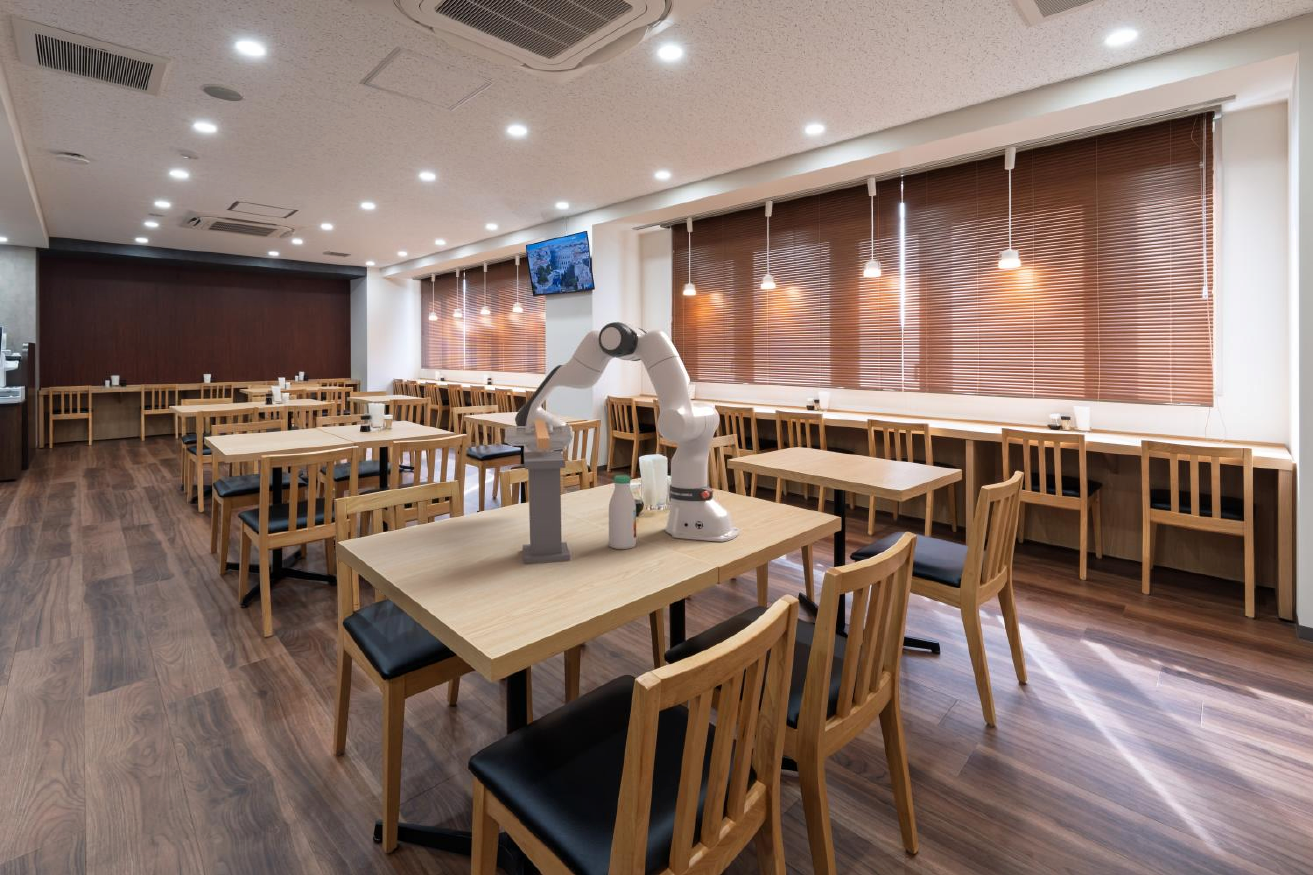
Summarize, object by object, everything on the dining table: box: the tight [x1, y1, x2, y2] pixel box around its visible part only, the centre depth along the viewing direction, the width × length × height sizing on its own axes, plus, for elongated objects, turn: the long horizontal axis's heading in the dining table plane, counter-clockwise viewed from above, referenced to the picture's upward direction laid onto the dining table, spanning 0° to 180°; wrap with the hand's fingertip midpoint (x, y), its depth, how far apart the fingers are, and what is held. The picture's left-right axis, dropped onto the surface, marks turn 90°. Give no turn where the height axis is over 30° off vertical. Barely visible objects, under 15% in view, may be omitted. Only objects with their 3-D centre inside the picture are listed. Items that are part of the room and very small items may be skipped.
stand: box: [522, 451, 571, 564], centre depth 170 cm, size 16×12×27 cm
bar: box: [534, 420, 550, 450], centre depth 179 cm, size 26×3×3 cm, turn 13°
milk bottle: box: [608, 474, 637, 550], centre depth 179 cm, size 8×8×20 cm
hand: (539, 424), depth 188 cm, fingers closed on bar, 3 cm apart
